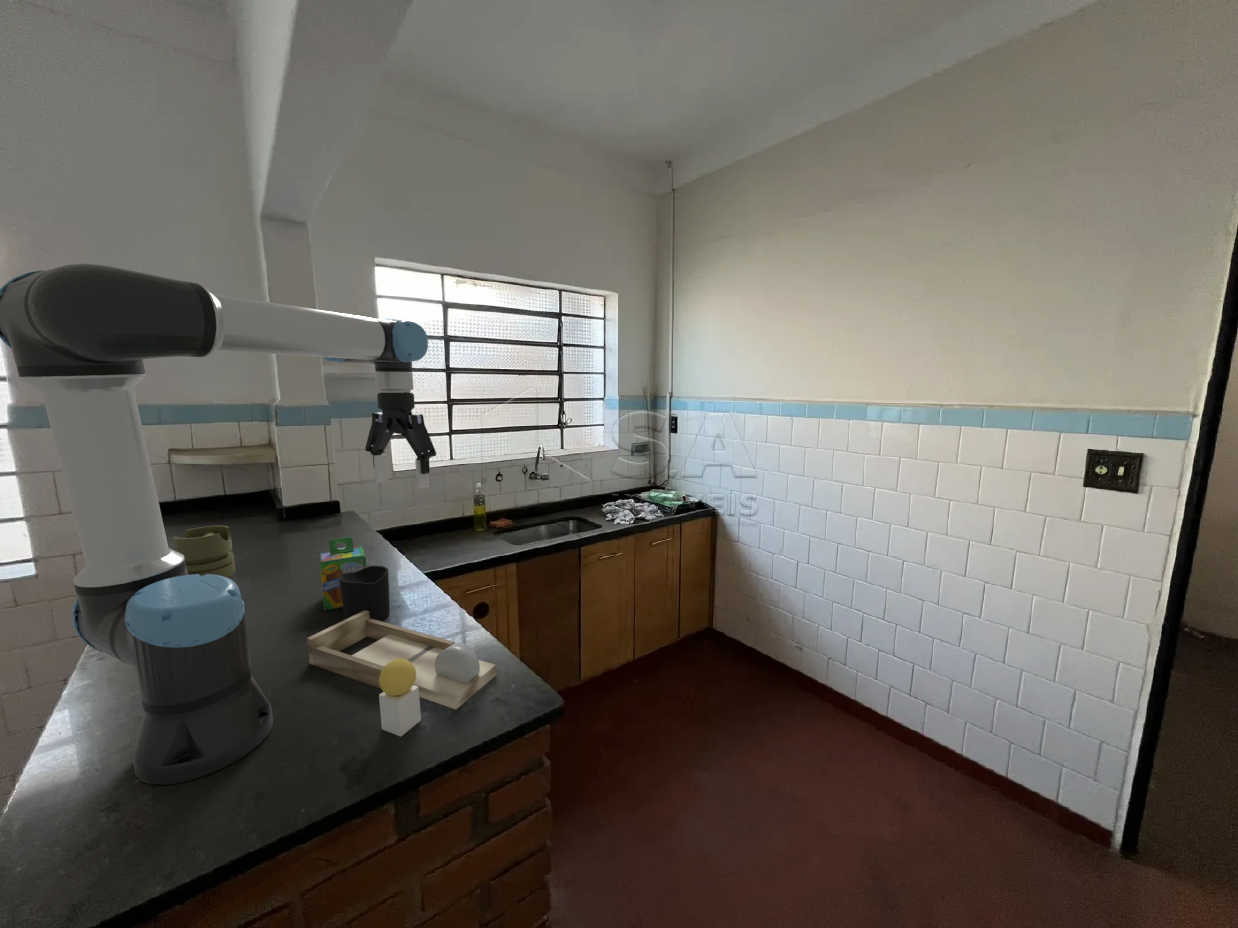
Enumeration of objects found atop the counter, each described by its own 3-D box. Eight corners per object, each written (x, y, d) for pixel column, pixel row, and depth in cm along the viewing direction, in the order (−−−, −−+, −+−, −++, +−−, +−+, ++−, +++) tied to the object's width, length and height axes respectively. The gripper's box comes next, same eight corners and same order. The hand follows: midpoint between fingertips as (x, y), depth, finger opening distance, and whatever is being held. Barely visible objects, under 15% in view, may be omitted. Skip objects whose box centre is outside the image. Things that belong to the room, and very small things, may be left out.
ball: (397, 706, 70) (395, 674, 69) (372, 697, 72) (369, 666, 71) (424, 687, 74) (422, 656, 73) (400, 678, 76) (397, 649, 75)
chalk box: (324, 612, 109) (317, 548, 107) (323, 597, 117) (317, 537, 115) (370, 602, 114) (364, 541, 112) (366, 588, 122) (361, 531, 119)
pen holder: (384, 625, 103) (380, 581, 102) (336, 629, 102) (331, 583, 100) (396, 605, 113) (393, 564, 111) (352, 608, 111) (348, 566, 109)
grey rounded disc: (468, 695, 81) (466, 656, 79) (435, 685, 83) (433, 646, 82) (480, 685, 83) (478, 647, 82) (448, 675, 86) (446, 638, 85)
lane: (451, 713, 76) (449, 684, 76) (309, 663, 90) (306, 638, 89) (499, 672, 87) (498, 646, 86) (366, 633, 100) (364, 610, 100)
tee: (400, 736, 71) (397, 701, 70) (381, 729, 73) (378, 694, 72) (420, 720, 75) (418, 686, 74) (402, 713, 76) (399, 680, 75)
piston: (163, 540, 121) (186, 527, 131) (170, 587, 123) (193, 570, 133) (218, 536, 124) (237, 524, 135) (224, 581, 126) (242, 565, 137)
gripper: (449, 392, 107) (454, 487, 111) (372, 390, 118) (379, 477, 122) (422, 392, 101) (428, 493, 104) (343, 391, 112) (351, 482, 115)
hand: (402, 485), depth 113 cm, fingers open, 13 cm apart
